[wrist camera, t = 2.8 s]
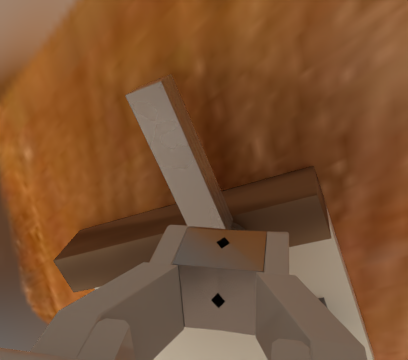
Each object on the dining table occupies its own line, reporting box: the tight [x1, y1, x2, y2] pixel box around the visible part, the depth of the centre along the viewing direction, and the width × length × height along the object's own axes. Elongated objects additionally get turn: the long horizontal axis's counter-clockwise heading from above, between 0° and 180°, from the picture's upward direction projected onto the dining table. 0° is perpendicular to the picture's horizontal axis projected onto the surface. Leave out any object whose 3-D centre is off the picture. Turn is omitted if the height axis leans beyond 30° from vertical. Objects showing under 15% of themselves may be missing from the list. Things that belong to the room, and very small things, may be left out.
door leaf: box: [95, 206, 375, 360], centre depth 29 cm, size 14×19×6 cm
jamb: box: [54, 166, 331, 292], centre depth 27 cm, size 3×19×4 cm, turn 113°
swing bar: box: [125, 74, 246, 231], centre depth 21 cm, size 12×3×3 cm, turn 23°
